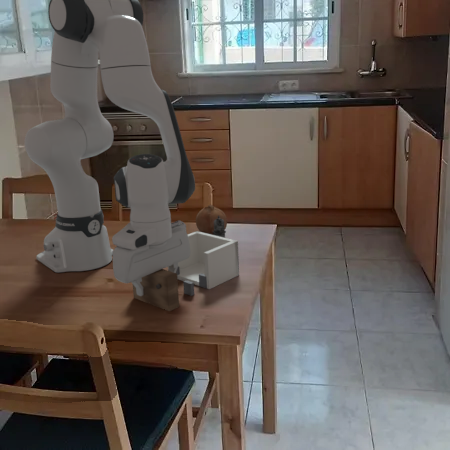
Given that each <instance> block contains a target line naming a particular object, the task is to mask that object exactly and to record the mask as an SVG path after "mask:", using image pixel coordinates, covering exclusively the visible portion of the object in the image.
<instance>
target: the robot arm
mask: <svg viewBox="0 0 450 450" xmlns="http://www.w3.org/2000/svg"><path fill="white" fill-rule="evenodd" d="M142 7H143V6H142V5H141V1H140V0H49V3H48V8H47V9H48V12H47V13H48V20H49V23H50V26H51V27H52V29H53V31H54V33H53V38H52V46H51V57H50V85H49V86H50V87H49V88H50V94H52V96H53V98H54V99H56V100H57V101H58V102H59V103H61V104H62V105H63V109H64V117H63V118H60V119H55V120H54V119H53V120H52V119H51V120H46V121H44V122H42V123H39V124H37V125H35V126H33V127H31V128H29V129H28V130H27V131H26V133H25V137H24V149H25V152H26V154H27V156H28V158H29V159H30V160H31V161H32V162H33V163H34V164H35V165H37V166H39V167H40V168H41V169H43V171H44V172H45V173H46V174H47V176H48V177H49V179H50V181H51V184H52V187H53V191H54V196H55V200H56V201H55V202H56V209H57V213H55V214H53V216H55V217H53V219H54V220H55V226H54V228H53V229H52V230H51V231H50V232H49V233H48V234H47V235H46V236H44V240H43V249H44V251H41V252H40V253H38V254H37V255H36V260H37V261H39V262H40V263H41V264H43V265H44V266H46V267H47V268H49V269H50V271H51V270H52V271H53V272H55V273H65V272H84V271H91V270H95V269H100V268H103V267H105V266H107V265H108V264H109V263H111V261H112V268H113V269H112V271H113V276H114V278H115V279H116V280H117V281H118V282H121V283H123V284H129V283H130V284H133V285H134V286H135V287H136V293H137V295H139V296H143V295H145V294H146V293H147V292H146V287H144V286H142V285H141V283H140V282H142V277H144V276H147V275H149V274H151V273H154V272H156V271H159V270H161V269H166V268H167V271H170V272H174V273H176V271H177V268H178V262H180V261H183V260H185V259H187V258H189V256H190V244H189V239H188V233H187V225H186V223H185V222H183V221H181V220H180V219H179V220H176V221H172V218H171V217H172V215H171V211H170V208H169V205H171V204H174V205H175V204H184V203H186V202H187V201H188V200H189V199H190V198H191V197H192V195H193V194H194V193H195V191H196V181H195V176H194V173H193V170H192V167H191V163H190V161H189V159H188V156H187V152H186V148H185V145H184V141H183V137H182V134H181V130H180V126H179V123H178V119H177V116H176V112H175V109H174V105H173V103H172V101H171V98H170V96H169V94H168V93H167V91H166V90H163V89H161V88H160V86H159V85H158V84H157V82H156V80H155V77H154V74H153V72H152V66H151V57H150V51H149V46H148V43H147V39H146V34H145V32H144V29H143V25H144V11H143V10H144V9H143V8H142ZM98 70H100V77H101V83H102V87H103V88H102V89H103V90H104V94H105V95H106V97H107V98H108V99H109V101H111V103H113V104H115V106H118V107H119V108H121V109H124V110H127V111H130V112H132V113H136V114H140V115H141V116H142V115H143V116H145V117H147V118H149V119H151V120H152V121H153V122H154V123H155V124H156V125H157V127H158V130H159V133H160V134H159V135H160V137H161V140H162V144H163V147H164V151H165V155H166V160H165V161H164V160H163V158H162V157H160V156H158V155H156V154H152V153H151V154H150V153H141V154H140V153H139V154H137V155H133V156H131V157H130V158H129V159H128V160H127V163H126V164H127V165H126V166H123V167H121V168H120V169H118V171H116V173H115V174H114V176H113V182H114V193H115V195H114V196H115V201H116V202H117V203H119V204H120V205H122V206H124V207H125V208H129V209H130V214H129V222H128V223H127V224H126V225H125V226H124V227H123V228H122V229H120V230H119V231H118V232H117V233H115V234H114V235H113V236H112V239H111V240H112V241H111V242H112V245H114V246H115V247H114V249H113V248H111V245H110V239H109V234H108V233H109V232H108V230H107V226H105V225H104V217H105V216H104V213H103V209H101V199H100V193H99V191H100V190H99V184H98V182H97V180H96V179H95V178H94V177H92V176H90V175H88V174H86V172H85V171H84V169H83V166H82V162H81V160H84V159H87V158H92V157H96V156H98V155H100V154H102V153H104V152H105V151H107V150H108V149H110V148H111V147H112V145H113V142H114V136H115V135H114V130H113V129H114V128H113V127H112V124H111V123H110V121H109V120H108V119H106V118H105V116H103V114H102V112H101V108H100V106H99V100H98ZM168 266H169V269H168ZM133 285H132V286H133Z"/></svg>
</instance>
